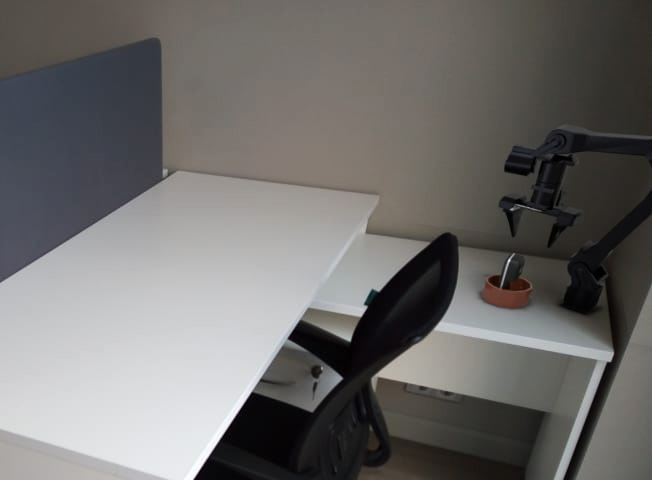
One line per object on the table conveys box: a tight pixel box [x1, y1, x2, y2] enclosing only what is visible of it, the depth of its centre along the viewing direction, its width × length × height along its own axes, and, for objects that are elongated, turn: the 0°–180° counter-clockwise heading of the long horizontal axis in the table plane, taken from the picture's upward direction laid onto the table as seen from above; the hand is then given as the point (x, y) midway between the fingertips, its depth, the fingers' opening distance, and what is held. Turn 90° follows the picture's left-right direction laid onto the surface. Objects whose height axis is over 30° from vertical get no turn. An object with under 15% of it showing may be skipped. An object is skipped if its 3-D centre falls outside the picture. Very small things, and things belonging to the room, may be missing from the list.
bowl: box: [481, 273, 533, 309], centre depth 184 cm, size 11×11×4 cm
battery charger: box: [498, 253, 526, 291], centre depth 182 cm, size 7×4×11 cm, turn 142°
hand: (530, 242), depth 183 cm, fingers open, 9 cm apart
